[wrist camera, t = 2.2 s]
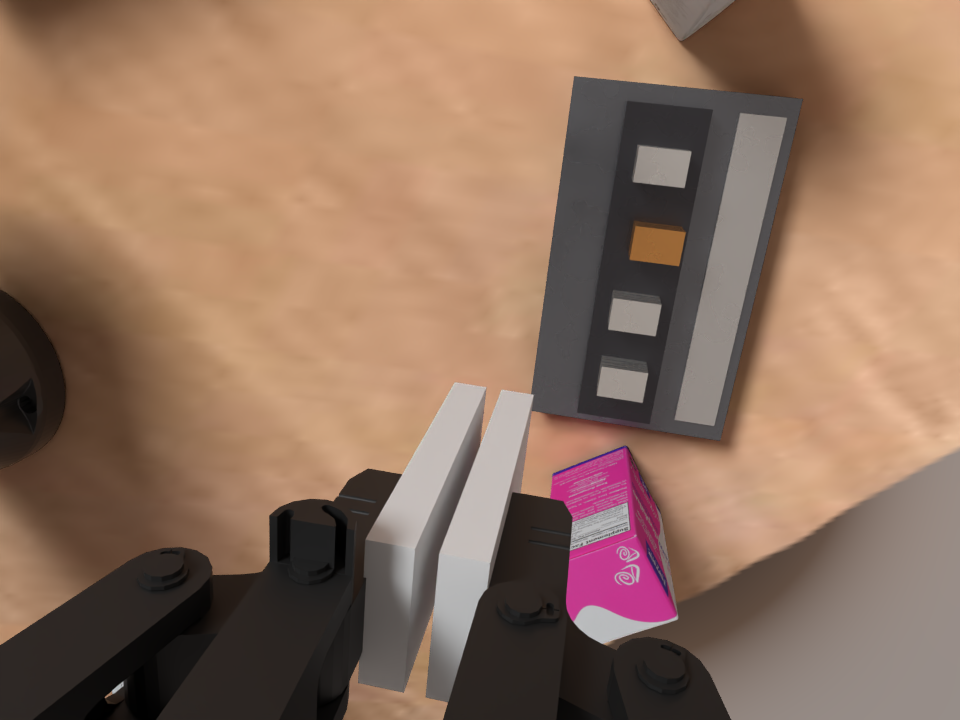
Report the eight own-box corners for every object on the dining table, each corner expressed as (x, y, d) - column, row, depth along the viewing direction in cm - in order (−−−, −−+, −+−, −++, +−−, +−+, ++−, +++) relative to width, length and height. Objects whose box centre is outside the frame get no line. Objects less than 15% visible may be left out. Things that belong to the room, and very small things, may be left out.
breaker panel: (715, 427, 45) (729, 467, 40) (532, 398, 47) (523, 433, 42) (793, 99, 38) (822, 97, 33) (575, 78, 40) (571, 72, 35)
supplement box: (664, 511, 48) (681, 624, 37) (585, 539, 50) (580, 654, 39) (629, 440, 47) (637, 536, 36) (549, 471, 48) (534, 571, 38)
